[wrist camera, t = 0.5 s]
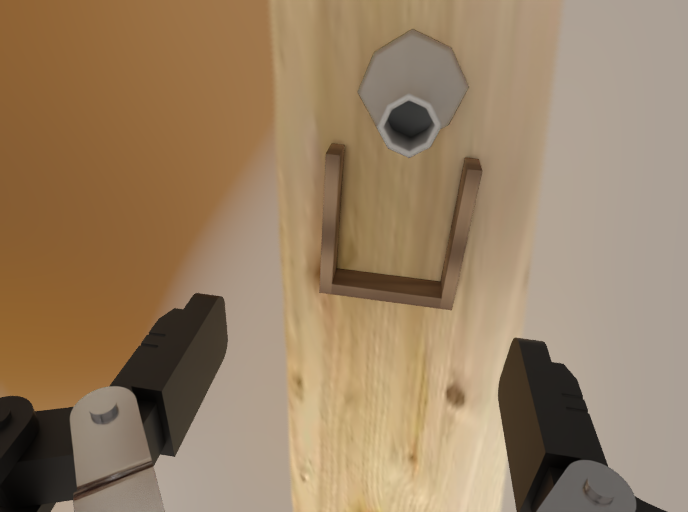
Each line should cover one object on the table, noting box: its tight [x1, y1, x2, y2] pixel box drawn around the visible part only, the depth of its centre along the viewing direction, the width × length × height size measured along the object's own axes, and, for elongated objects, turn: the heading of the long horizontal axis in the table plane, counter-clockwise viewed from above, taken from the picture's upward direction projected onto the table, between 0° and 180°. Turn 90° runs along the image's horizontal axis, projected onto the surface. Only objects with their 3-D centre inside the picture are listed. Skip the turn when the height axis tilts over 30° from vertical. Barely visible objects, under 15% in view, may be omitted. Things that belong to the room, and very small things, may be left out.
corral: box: [319, 144, 482, 310], centre depth 38 cm, size 12×11×2 cm
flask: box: [358, 29, 469, 158], centre depth 30 cm, size 7×7×10 cm
